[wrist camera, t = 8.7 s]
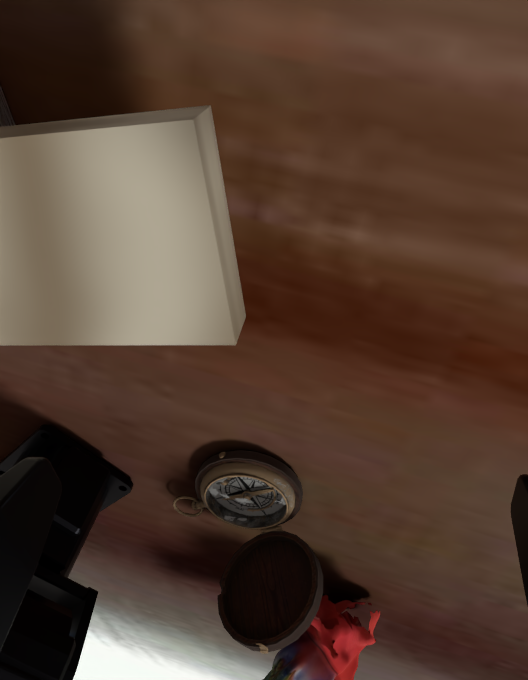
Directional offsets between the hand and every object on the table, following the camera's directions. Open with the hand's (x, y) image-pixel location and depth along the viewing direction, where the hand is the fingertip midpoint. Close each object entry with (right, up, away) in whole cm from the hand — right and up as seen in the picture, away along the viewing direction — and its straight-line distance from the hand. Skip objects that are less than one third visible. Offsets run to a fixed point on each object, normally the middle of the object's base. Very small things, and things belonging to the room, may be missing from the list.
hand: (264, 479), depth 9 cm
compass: (-1, -6, +20) cm, 21 cm away
